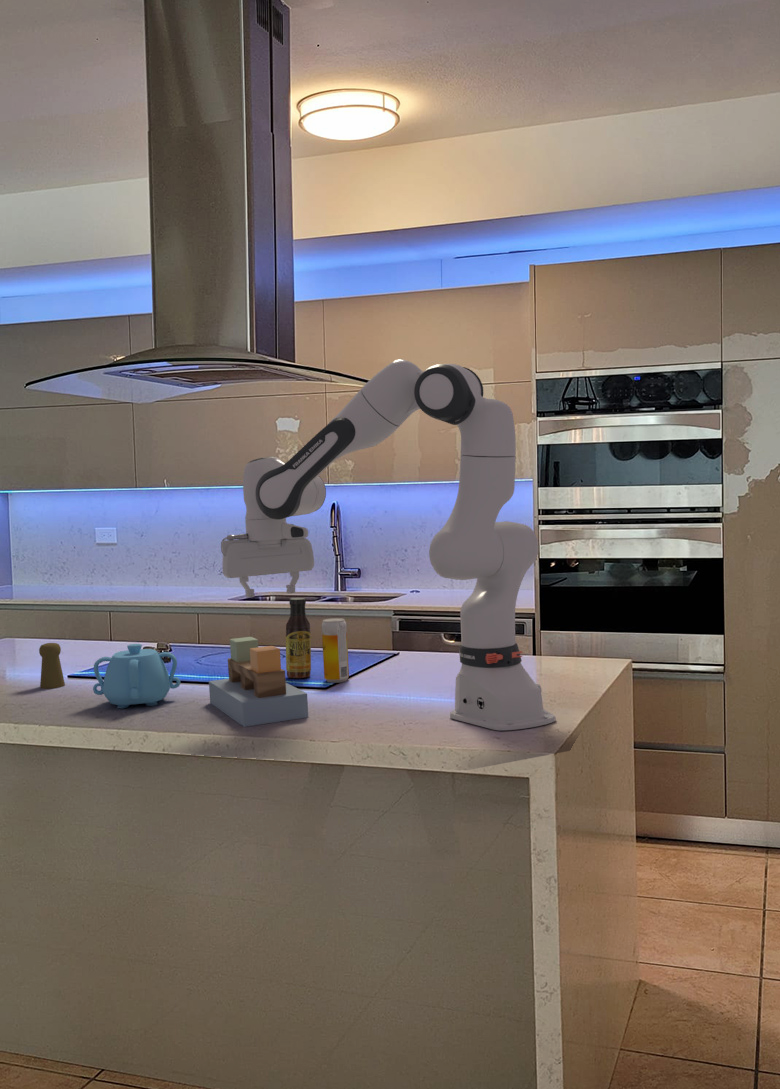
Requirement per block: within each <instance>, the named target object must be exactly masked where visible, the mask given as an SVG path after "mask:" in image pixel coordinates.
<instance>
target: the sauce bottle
mask: <svg viewBox="0 0 780 1089" xmlns="http://www.w3.org/2000/svg"><path fill="white" fill-rule="evenodd" d="M306 601H307V600H306V598H305V597H291V598H289V602H288V604H289V607H290V611H289V612H290V613H289V615H290V616H289V618H288V620H287V622H286V624H285V632H286V633H285V666H286V667H285V668H286V670H285V671H286V677H287V678H288V679H307V678H309V677H310V676H311V671H312V647H311V646H312V643H311V641H312V640H311V638H312V637H311V626H310V625H311V624H310V621H309V620H308V618H307V617H306V615H307V614H306Z"/></svg>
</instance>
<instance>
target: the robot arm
mask: <svg viewBox="0 0 780 1089" xmlns="http://www.w3.org/2000/svg"><path fill="white" fill-rule="evenodd" d="M418 410H420V411H421V412H423V413H424V414H425V415H427V416H428V417H430V418H433V419H435V420H438V421H442V422H444V423H446V424H449V425H452V426H457V428H458V430H459V432H460V462H459V463H460V464H459V476H458V477H459V479H458V491H457V496H456V500H455V503H454V506H453V508H452V510H451V514H450V515H449V517H448V518H447V520H446V522H445V524H444V525H443V526H442V528H441V529H440V530H439V531H437V533H435V535H434V536H432V537H433V538H432V539H431V542H430V545H429V549H428V550H429V551H428V555H429V561H430V564H431V566H432V568H433V570H434V571H435V573H437V575H438V576H440V577H441V578H444V579H448V580H449V579H451V580H460V581H467V580H472V579H473V580H474V579H476V583H475V586H474V588H473V591H472V593H471V594H470V595H469V596H468V598H466V599H465V601H464V602H463V603H462V605H461V608H460V612H459V614H460V633H461V634H460V635H461V637H460V639H461V642H460V643H461V644H460V645H459V651H458V654H459V662H460V663H461V666H460V669H459V672H458V674H457V675H456V676H455V689H454V690H455V692H454V709H453V710H452V711H451V712H449V713H450V714H449V719H452V720H456V721H459V722H464V723H468V724H471V725H475V726H479V727H482V728H485V729H489V730H493V731H516V730H523V729H529V728H531V729H532V728H536V727H541V726H544V725H545V726H546V725H548V724H551V723H554V722H556V721H557V720H556V715H555V714H553V713H551V712H549V711H547V710H546V709H544V704H543V695H542V687H541V685H540V683H536V682H535V681H534V679H532V677H531V676H530V675H529V673H528V672H527V670H526V669H525V668H524V665H522V663H521V662H522V657H523V655H521V654H522V653H523V651H522V650H521V651H520V649H519V645H518V643H517V641H516V605H517V600H518V594H519V591H520V587H521V585H522V582H523V580H524V577H525V576H526V574H527V572H528V571H529V569H530V568H531V567H532V565H534V563H535V562H536V560H537V558H538V555H539V548H540V547H539V541H538V536H537V535H536V534H535V531H534V530H533V529H532V528H531V527H530V526H528V525H527V524H524V523H519V522H513V521H507V520H506V521H505V520H504V521H496V520H497V518H498V516H499V513H500V512H501V509H502V507H504V506H505V505H506V504H507V503H508V502H509V501H510V500H511V499H512V498H513V495H514V493H515V486H516V485H515V481H516V480H515V479H516V450H517V444H516V443H517V441H516V428H515V420H514V415H513V414H514V413H513V411H512V409H511V407H510V406H509V405H508V404H507V403H505V402H504V401H501V400H499V399H495V398H485V397H484V386H483V383H482V380H481V379H480V377H479V376H478V374H477V373H476V372H474V371H473V370H472V369H470V368H469V367H465V366H461V365H459V364H456V363H455V364H454V363H438V364H433V365H431V366H429V367H428V368H425V369H424V370H422V369H420V367H419V366H417V365H416V364H415V363H413V362H411V361H409V360H406V359H395V360H394V361H391V363H389V364H388V365H386V366H385V367H383V368H382V369H381V370H380V371H379V372H377V373H376V374H375V375H374V376H372V377H371V379H368V381H367V382H366V383H365V384H364V385H363V386H362V387H361V389H359V391H357V393H356V394H355V395H354V396H353V397H352V398H351V399H350V400H349V402H348V403H347V404H346V405H345V406H344V407H343V408H342V409H341V410H340V411H339V412H338V413H337V414H336V415H335V416H334V417H333V418H332V419H331V420H330V421H329V422H328V424H326V425H325V426H324V427H323V428H321V429H320V431H318V433H317V434H315V435H314V436H313V437H312V438H311V439H310V440H309V441H308V442H307V443H306V444H305V445H304V446H303V447H302V448H301V449H299V450H298V451H297V452H296V453H295V454H294V455H293V456H291V458H290V459H289V460H288V461H286V462H284V461H283V460H281V459H280V458H279V457H277V456H273V455H272V456H264V457H259V458H255V459H252V460H250V461H249V462H247V464H245V466H244V470H243V475H242V488H243V489H242V490H243V493H242V494H243V501H244V505H245V509H246V512H245V517H244V519H245V520H244V522H245V533H240V534H228V535H227V536H225V537H223V539H222V540H221V542H220V550H221V553H222V575H224V577H225V578H227V579H236V578H239V583H240V584H241V586H242V588H243V589H244V591H245V592H244V593H245V597H246V598H247V599H248V598H254V597H255V589H254V588H250V587H249V585H248V582H249V577H256V576H267V575H278V574H286V573H287V574H289V576H290V577H292V578H291V579H290V583H289V584H286V585H285V588H286V594H295V593H296V585H297V583H298V581H299V579H300V572H307V571H312V570H313V568H314V567H315V558H314V557H315V556H314V550H313V546H312V542H311V541H310V540H309V539H308V538H307V537H308V536H309V530H308V528H306V527H303V526H300V525H296V524H293V523H288V522H287V518H289V517H297V516H303V515H310V514H313V513H315V512H317V511H318V510H320V509H321V507H323V505H324V503H325V500H326V496H327V488H326V485H325V482H324V480H323V479H322V477H321V476H320V475H321V474H322V473H323V472H324V471H325V470H326V469H327V468H328V467H329V466H330V465H332V464H333V463H334V462H335V461H336V460H338V459H340V458H341V457H343V456H345V455H348V454H350V453H354V452H356V451H360V450H365V449H369V448H372V447H374V446H375V447H376V446H377V445H379V444H381V443H382V442H383V441H385V440H387V438H389V437H390V436H392V434H393V433H395V431H397V430H398V429H399V427H401V426H402V425H403V423H404V422H405V421H406V420H407V419H408V418H409V417H410V416H411V415H412V414H413V413H415V412H416V411H418Z"/></svg>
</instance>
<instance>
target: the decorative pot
mask: <svg viewBox="0 0 780 1089" xmlns="http://www.w3.org/2000/svg"><path fill="white" fill-rule="evenodd" d="M164 657H168V658H170V659H171V660H172V663H171V664H172V665H171V670H170V673H169V671H168V669H167V666H166V664H165V662H164V660H163V659H162V658H164ZM104 662H108V665H107V667H106V670H105V673H104V678H102V676H101V674H100V670H99V665H100V664H101V663H104ZM177 667H178V660H177V657H176V656H175V655H174V654H173V653H171V652H168V651H163V652H158V651H157V650H156V649H153V648H145V649H142V644H141V643H132V644H128V645H127V650H122V651H118V652H115V653H113V655H112V656H103V657H100V658H98V659H97V660H95V662H94V664H93V672H94V676H95V678H96V680H97V681H98V682H97V683H95V684H94V685H93V686H92V691H93V693H94V694H95V695H98V696H103V695H104V697H105V698H106V699H107V701H108V702H109V703H110V704H111V705H116V706H117V709H125V708H129V707H130V705H139V704H140V705H141V704H145V706H149V707H150V706H151V707H152V706H153V707H154V706H156V705H158V701H161V700H163V699H165V698H166V697H167V695H168V694H169V691H170V689H173V690H174V689H177V688H179V687H180V685H181V679H180V678H179V677H177V676H175V673H176V672H177V671H176V670H177ZM173 681H175V682H176V683H173ZM98 687H100V690H98V689H97V688H98Z"/></svg>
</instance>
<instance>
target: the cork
mask: <svg viewBox="0 0 780 1089" xmlns="http://www.w3.org/2000/svg"><path fill="white" fill-rule="evenodd" d="M61 650H62V647H61V645H60V644H59V643H57V642H48V643H47V642H46V643H43V644H41V645H40V646H39V649H38V651H39V656H40V657H41V668H40V682H39V684H40V685H39V688H40V689H42V690H43V689H44V690H51V689H58V688H63V687H65V686H66V683H65V679H64V673H63V670H62V664H61V661H60V654H61V652H62V651H61Z"/></svg>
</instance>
